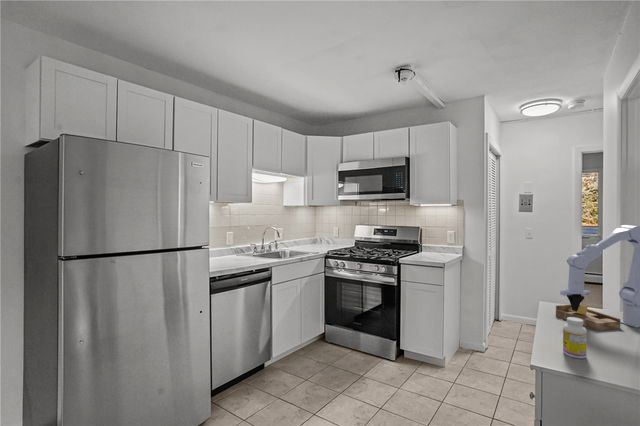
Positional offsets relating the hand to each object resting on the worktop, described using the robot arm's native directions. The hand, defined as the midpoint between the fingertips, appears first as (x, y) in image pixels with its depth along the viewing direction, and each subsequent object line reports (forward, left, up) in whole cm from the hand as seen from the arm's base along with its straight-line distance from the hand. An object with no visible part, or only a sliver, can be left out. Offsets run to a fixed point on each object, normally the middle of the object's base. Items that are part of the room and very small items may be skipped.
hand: (574, 310), depth 152 cm
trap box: (-4, +2, -5) cm, 7 cm away
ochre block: (-2, 0, -1) cm, 2 cm away
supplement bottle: (+33, +30, -5) cm, 44 cm away
